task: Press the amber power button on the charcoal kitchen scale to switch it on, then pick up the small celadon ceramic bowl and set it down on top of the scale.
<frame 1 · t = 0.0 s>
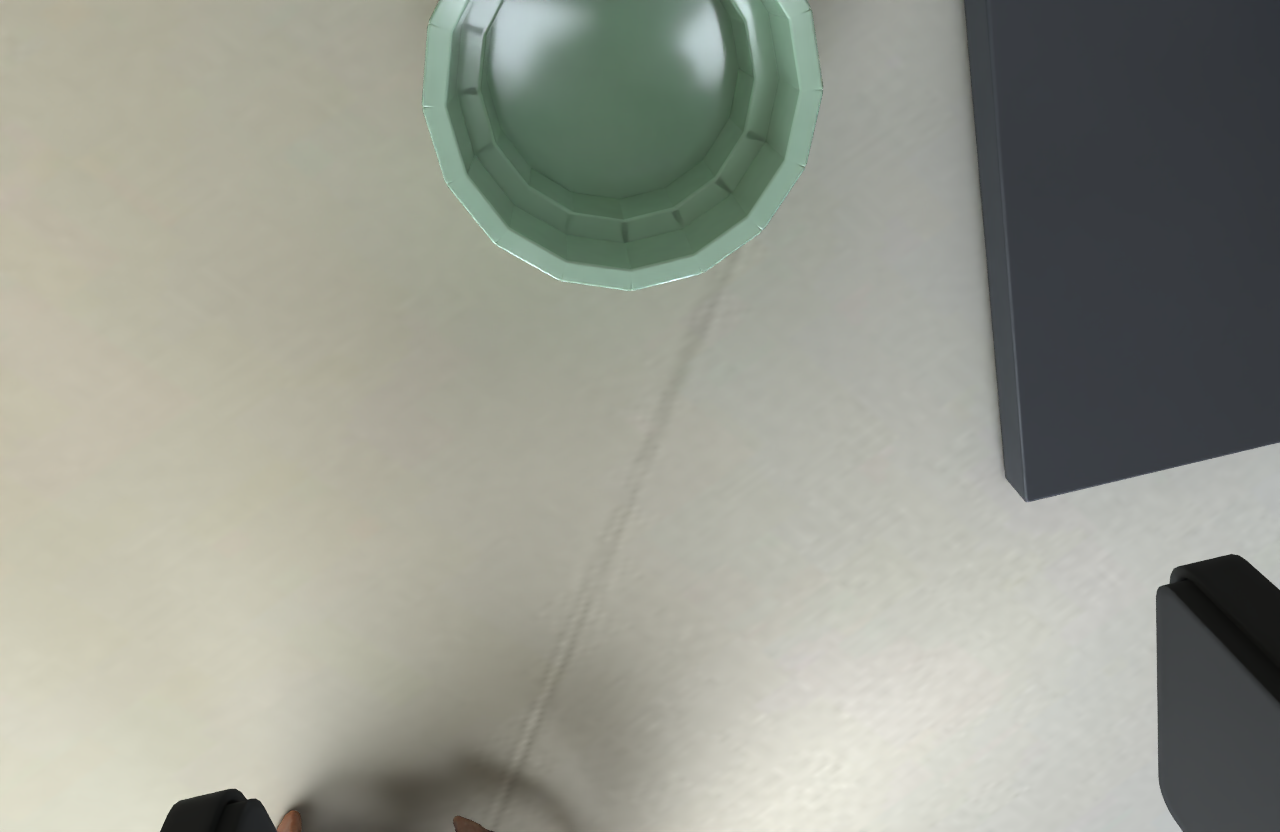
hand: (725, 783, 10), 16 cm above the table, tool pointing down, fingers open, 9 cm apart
bowl: (612, 70, 23), on the table
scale: (1223, 179, 25), on the table
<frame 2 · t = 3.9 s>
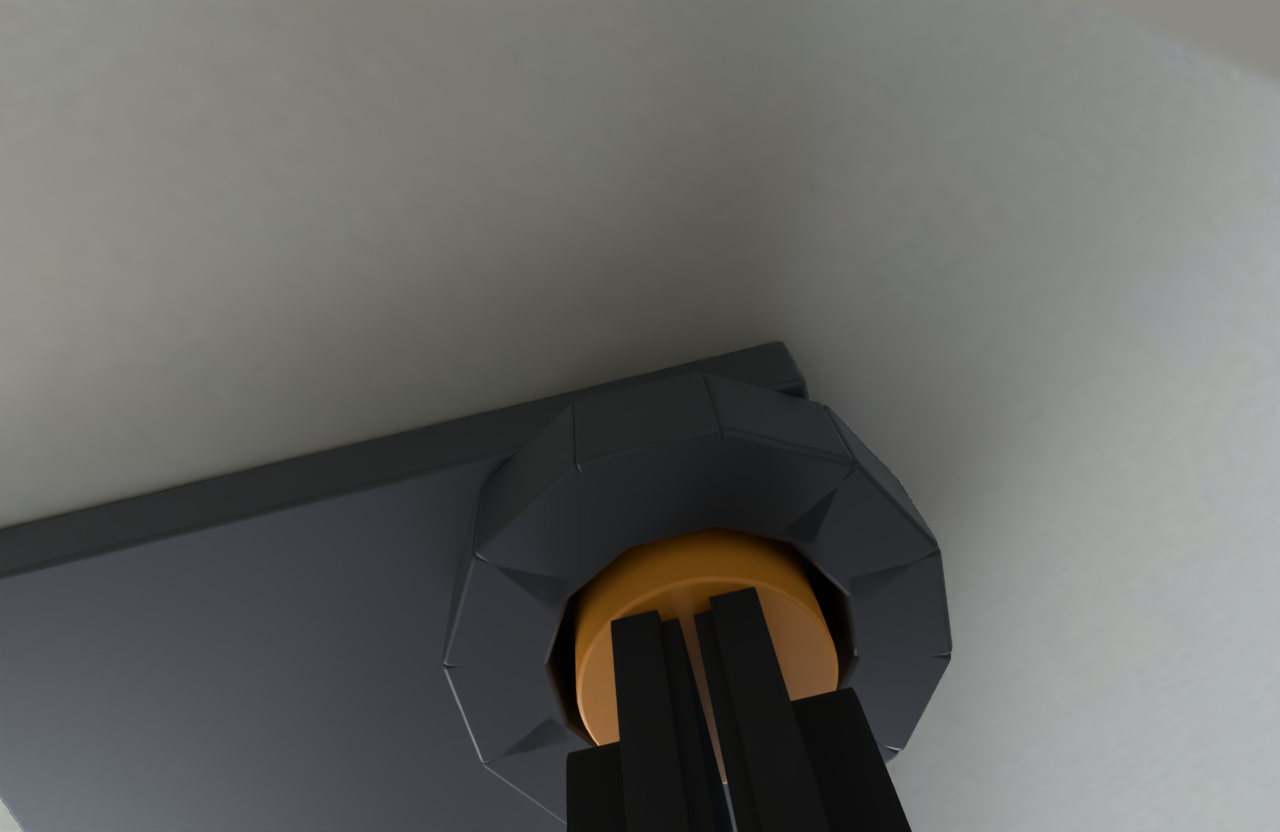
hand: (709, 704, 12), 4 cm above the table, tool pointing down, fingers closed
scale: (497, 810, 17), on the table
scale button: (699, 641, 12), point 3 cm above the table, slide at -0.8 cm, touching gripper
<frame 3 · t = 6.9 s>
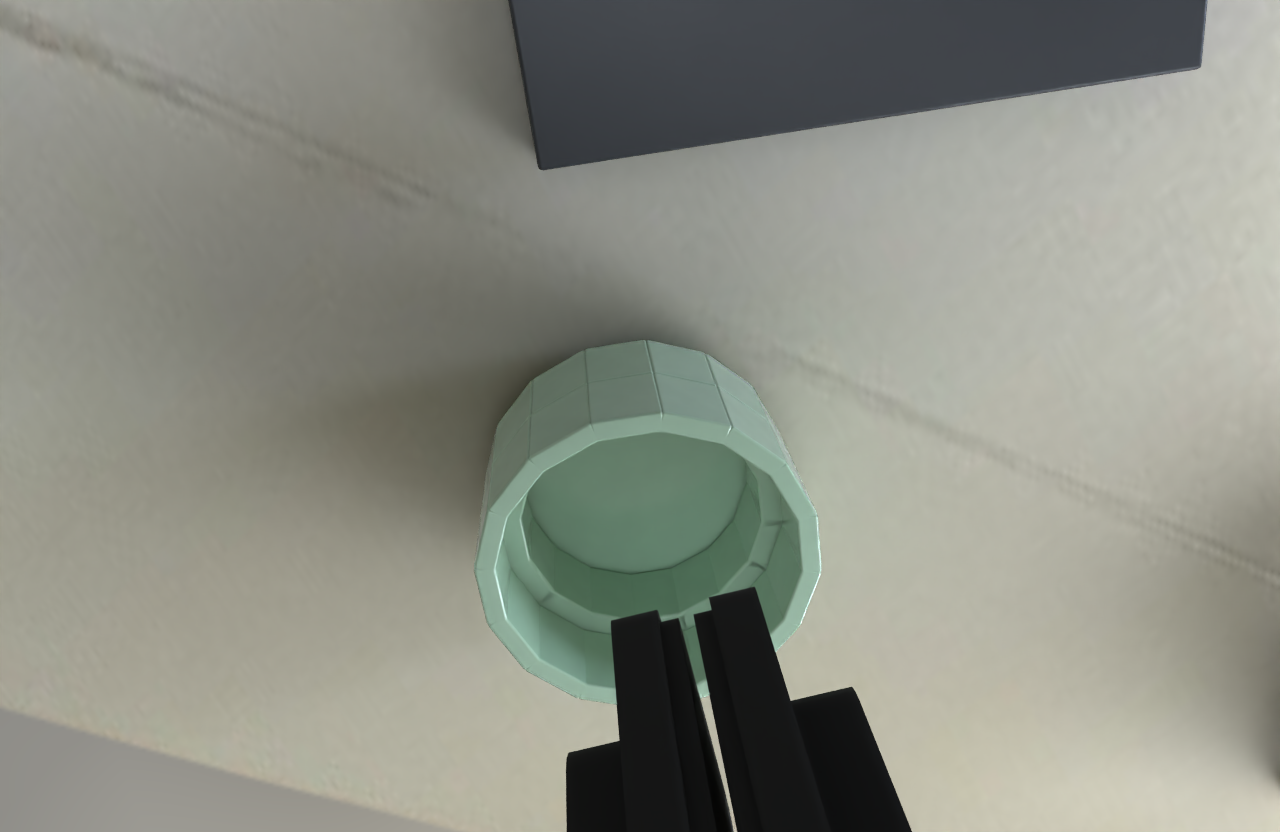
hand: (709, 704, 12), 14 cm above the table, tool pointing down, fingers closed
bowl: (634, 469, 26), on the table
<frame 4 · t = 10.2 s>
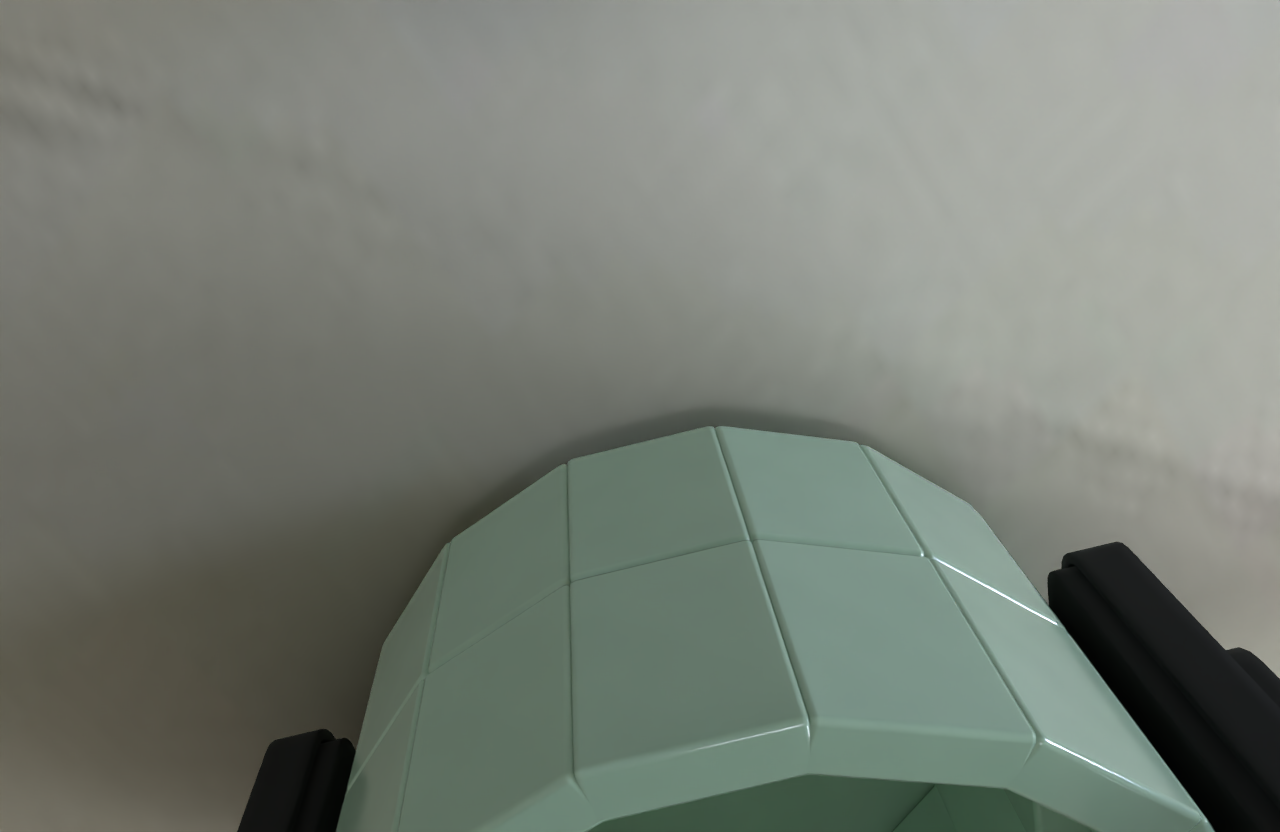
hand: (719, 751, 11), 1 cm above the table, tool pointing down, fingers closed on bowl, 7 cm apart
bowl: (708, 696, 12), on the table, touching gripper
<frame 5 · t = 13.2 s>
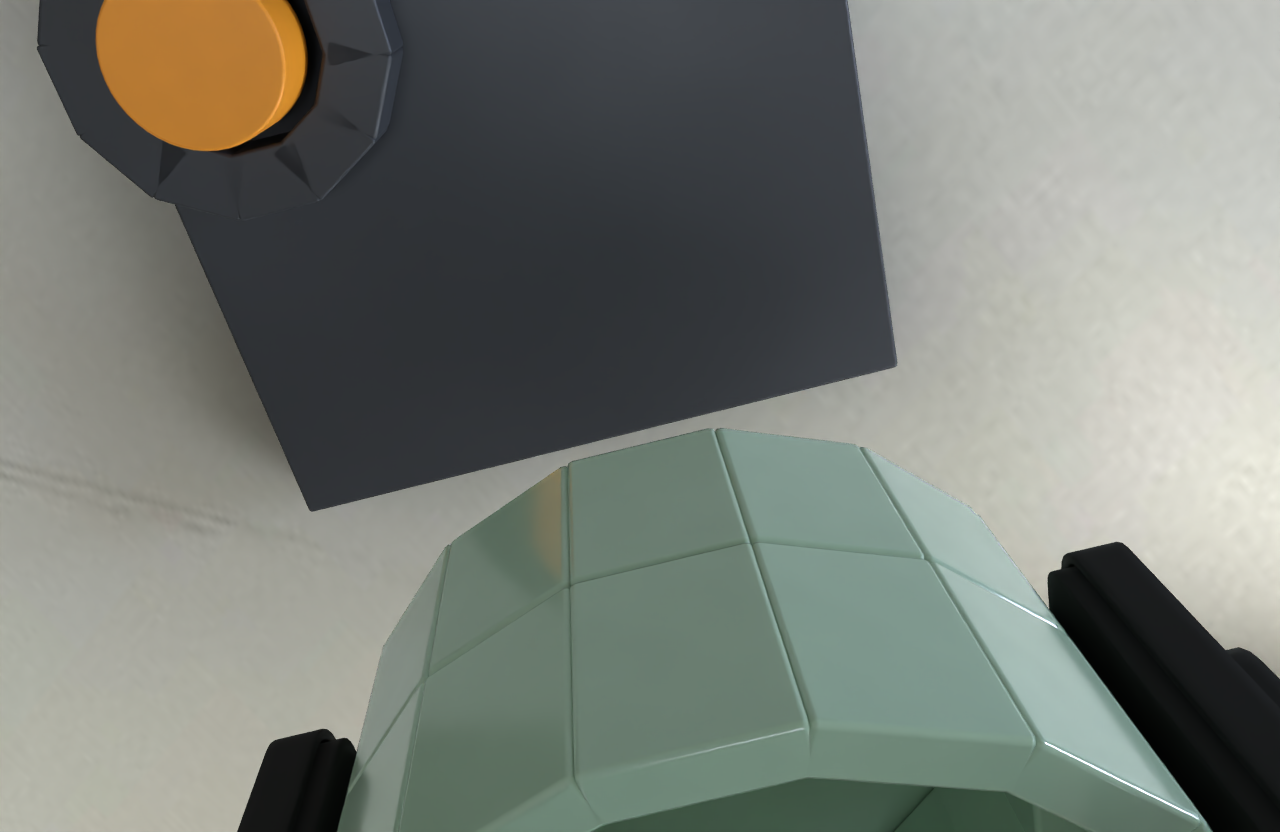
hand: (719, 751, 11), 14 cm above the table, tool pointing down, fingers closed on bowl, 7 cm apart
bowl: (708, 698, 12), point 13 cm above the table, touching gripper
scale: (530, 174, 22), on the table
scale button: (207, 53, 17), point 3 cm above the table, slide at 0.1 cm
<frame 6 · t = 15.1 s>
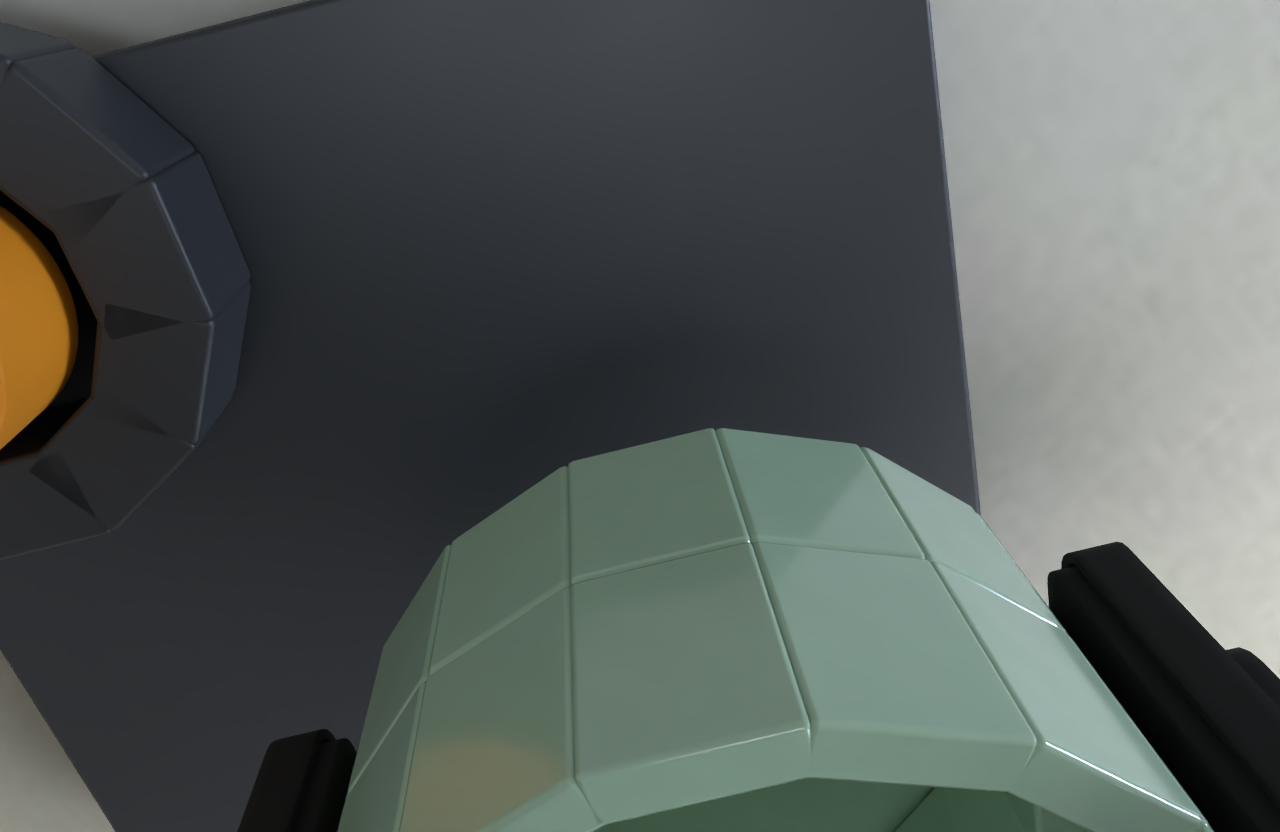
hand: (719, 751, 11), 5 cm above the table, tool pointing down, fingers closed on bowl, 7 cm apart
bowl: (708, 698, 12), point 5 cm above the table, touching gripper
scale: (465, 427, 15), on the table
when the fingers open (2 cm above the table, at t = 16.5 s): bowl stays where it is, resting on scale.
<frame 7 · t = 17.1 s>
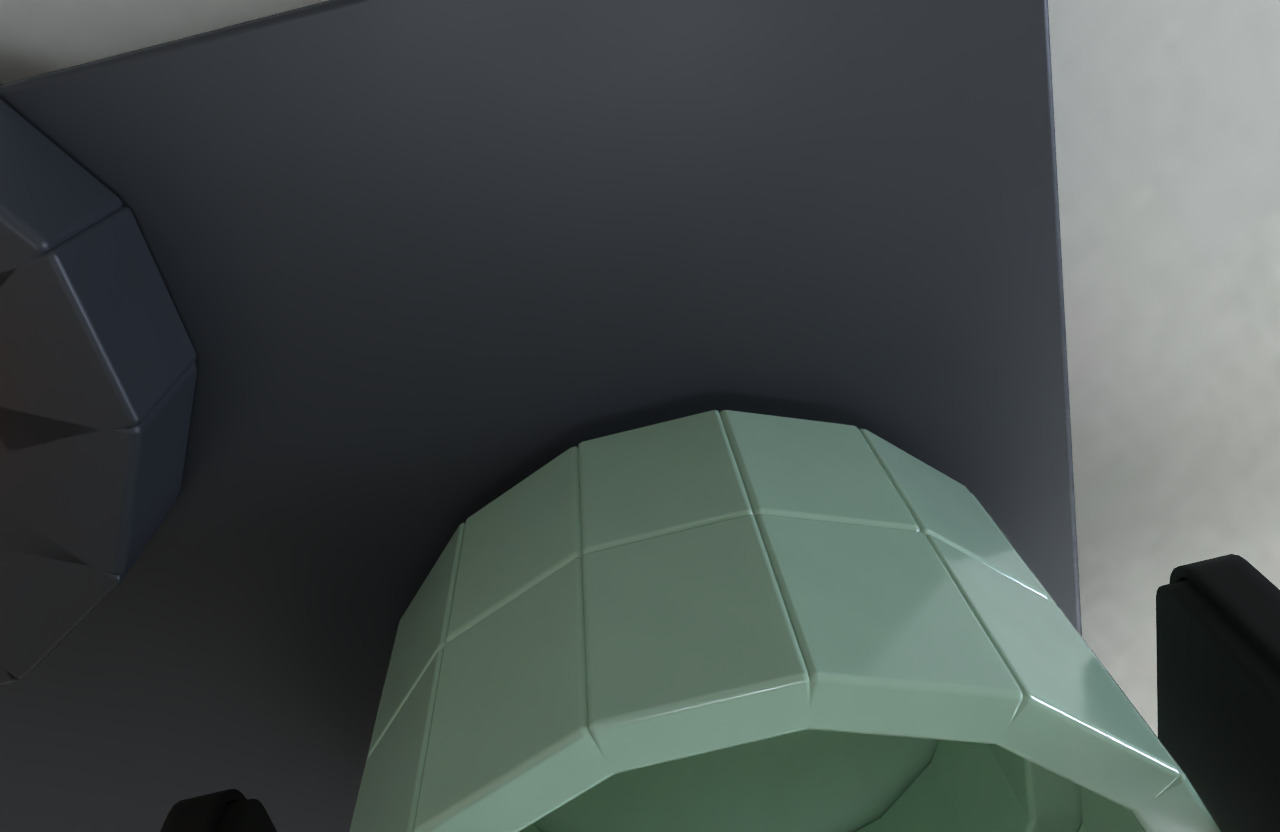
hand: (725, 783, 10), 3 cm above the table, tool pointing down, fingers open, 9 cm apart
bowl: (712, 674, 12), point 1 cm above the table, touching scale
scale: (464, 521, 13), on the table
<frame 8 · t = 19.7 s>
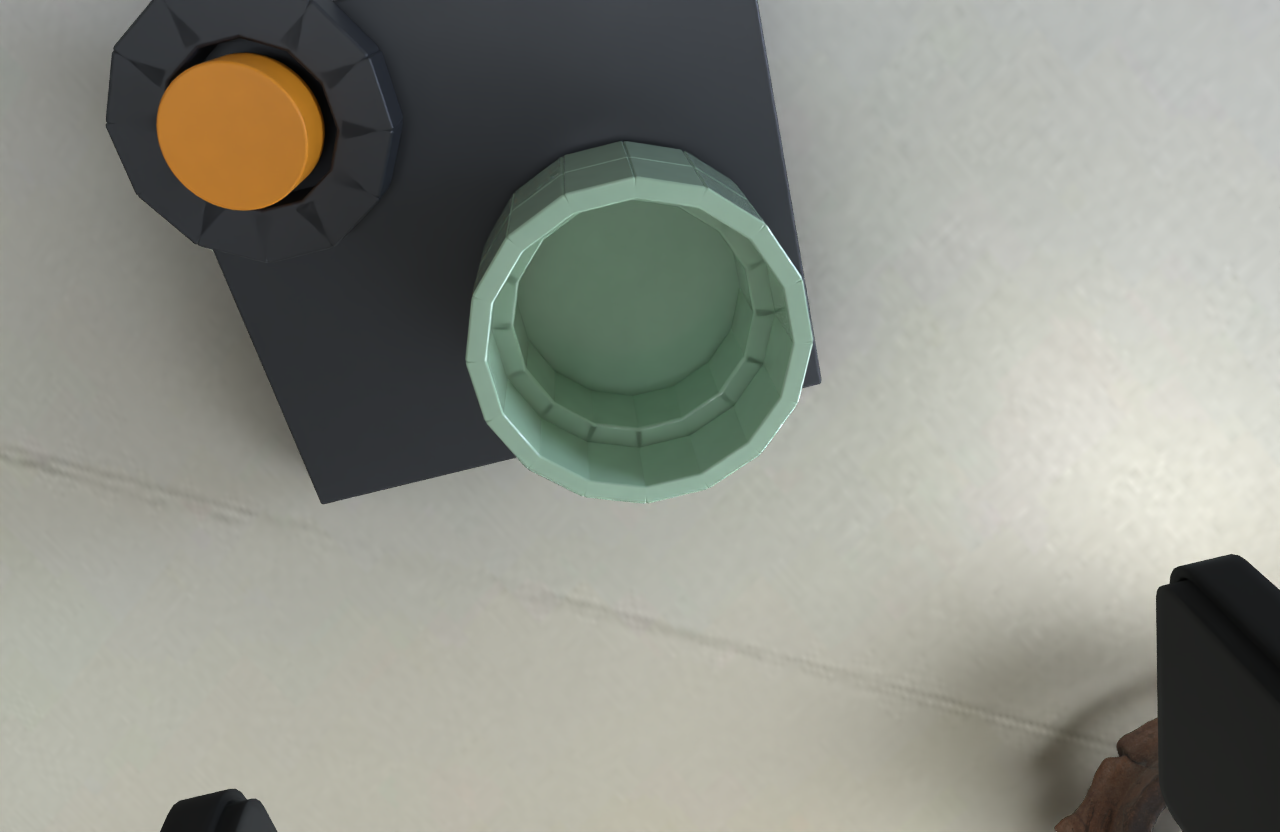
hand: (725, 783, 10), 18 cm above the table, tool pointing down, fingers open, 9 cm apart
bowl: (627, 286, 26), point 1 cm above the table, touching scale
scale: (510, 220, 26), on the table
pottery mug: (1163, 792, 37), on the table
scale button: (244, 131, 22), point 3 cm above the table, slide at 0.1 cm
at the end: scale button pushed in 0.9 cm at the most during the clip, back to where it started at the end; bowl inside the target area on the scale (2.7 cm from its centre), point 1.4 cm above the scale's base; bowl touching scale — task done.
